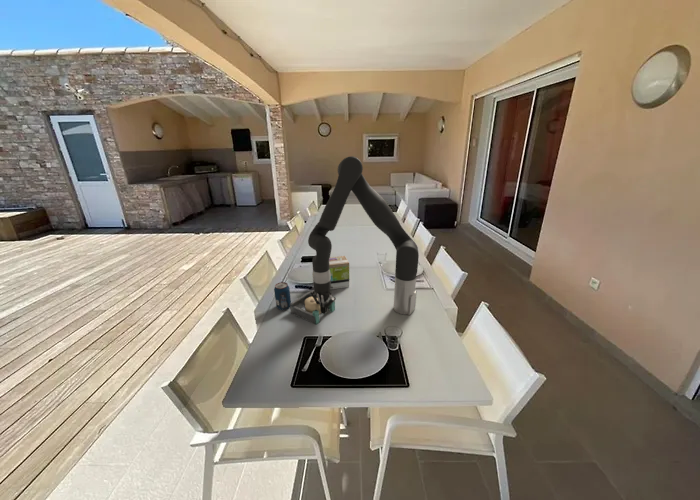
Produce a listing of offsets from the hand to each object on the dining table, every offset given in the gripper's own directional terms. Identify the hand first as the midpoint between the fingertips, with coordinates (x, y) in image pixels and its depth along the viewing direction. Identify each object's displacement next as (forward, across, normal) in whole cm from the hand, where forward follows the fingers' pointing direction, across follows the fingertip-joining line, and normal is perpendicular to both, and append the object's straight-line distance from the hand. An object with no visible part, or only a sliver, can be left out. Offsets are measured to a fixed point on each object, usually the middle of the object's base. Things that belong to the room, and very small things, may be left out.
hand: (324, 312), depth 128 cm
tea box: (+2, +14, -25) cm, 29 cm away
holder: (+2, +7, 0) cm, 7 cm away
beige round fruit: (+2, +6, 0) cm, 7 cm away
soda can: (+2, +21, +5) cm, 22 cm away
